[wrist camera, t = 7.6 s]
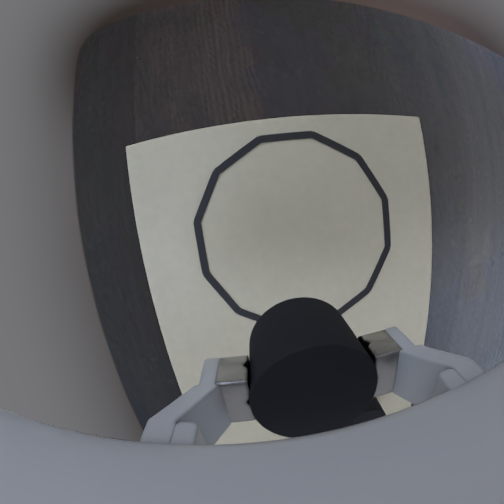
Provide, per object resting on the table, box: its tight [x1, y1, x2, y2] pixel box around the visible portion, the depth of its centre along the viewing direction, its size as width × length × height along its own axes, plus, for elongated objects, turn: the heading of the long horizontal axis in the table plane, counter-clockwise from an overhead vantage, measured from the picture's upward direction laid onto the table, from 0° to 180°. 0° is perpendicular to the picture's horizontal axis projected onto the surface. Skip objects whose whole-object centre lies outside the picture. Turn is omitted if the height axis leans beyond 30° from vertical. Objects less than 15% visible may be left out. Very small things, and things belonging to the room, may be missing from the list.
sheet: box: [126, 114, 432, 445], centre depth 20 cm, size 22×30×1 cm
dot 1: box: [342, 397, 386, 428], centre depth 20 cm, size 4×4×4 cm
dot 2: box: [249, 297, 378, 438], centre depth 9 cm, size 4×4×4 cm
